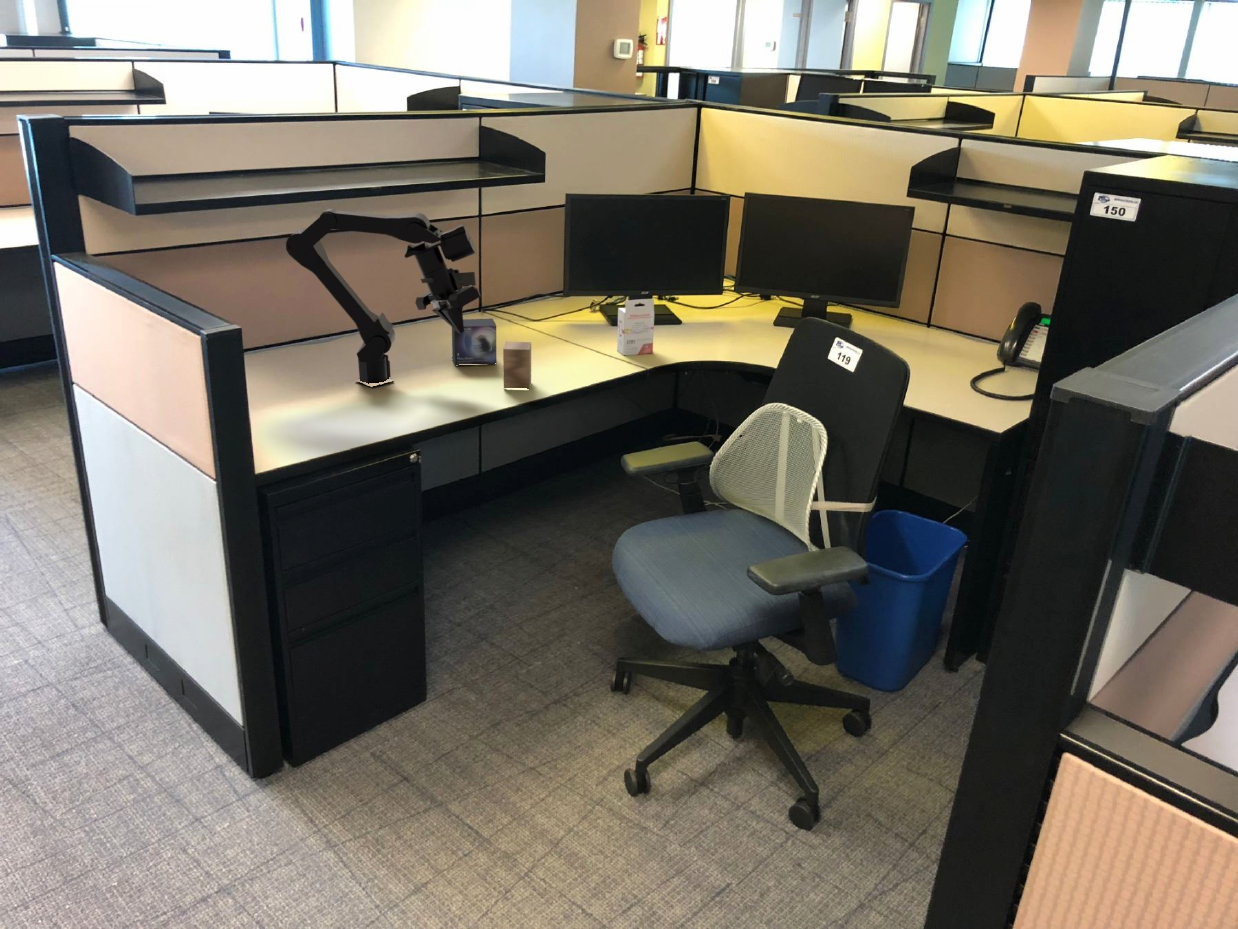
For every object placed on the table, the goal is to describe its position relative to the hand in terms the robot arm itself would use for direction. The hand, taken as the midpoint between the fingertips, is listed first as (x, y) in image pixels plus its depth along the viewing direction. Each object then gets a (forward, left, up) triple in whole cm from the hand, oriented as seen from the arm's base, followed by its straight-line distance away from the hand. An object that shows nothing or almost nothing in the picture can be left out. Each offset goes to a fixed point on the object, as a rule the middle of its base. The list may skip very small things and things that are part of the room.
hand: (461, 332), depth 222 cm
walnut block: (+8, -10, -12) cm, 18 cm away
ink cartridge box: (+49, -13, -13) cm, 52 cm away
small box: (+13, +10, -13) cm, 21 cm away
